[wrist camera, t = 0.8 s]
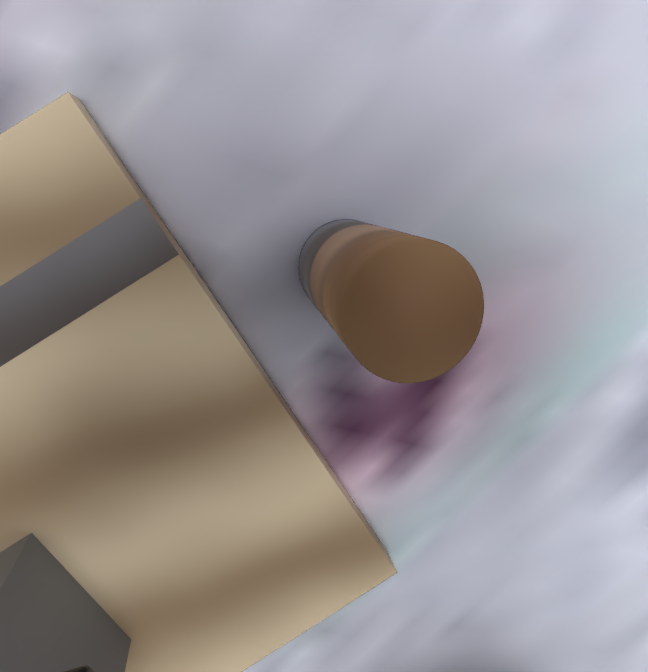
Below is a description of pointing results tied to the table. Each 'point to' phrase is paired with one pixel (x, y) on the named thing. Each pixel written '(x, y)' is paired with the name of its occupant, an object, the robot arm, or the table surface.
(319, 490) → the board
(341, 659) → the table surface
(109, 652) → the box
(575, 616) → the table surface
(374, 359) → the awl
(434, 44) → the table surface
